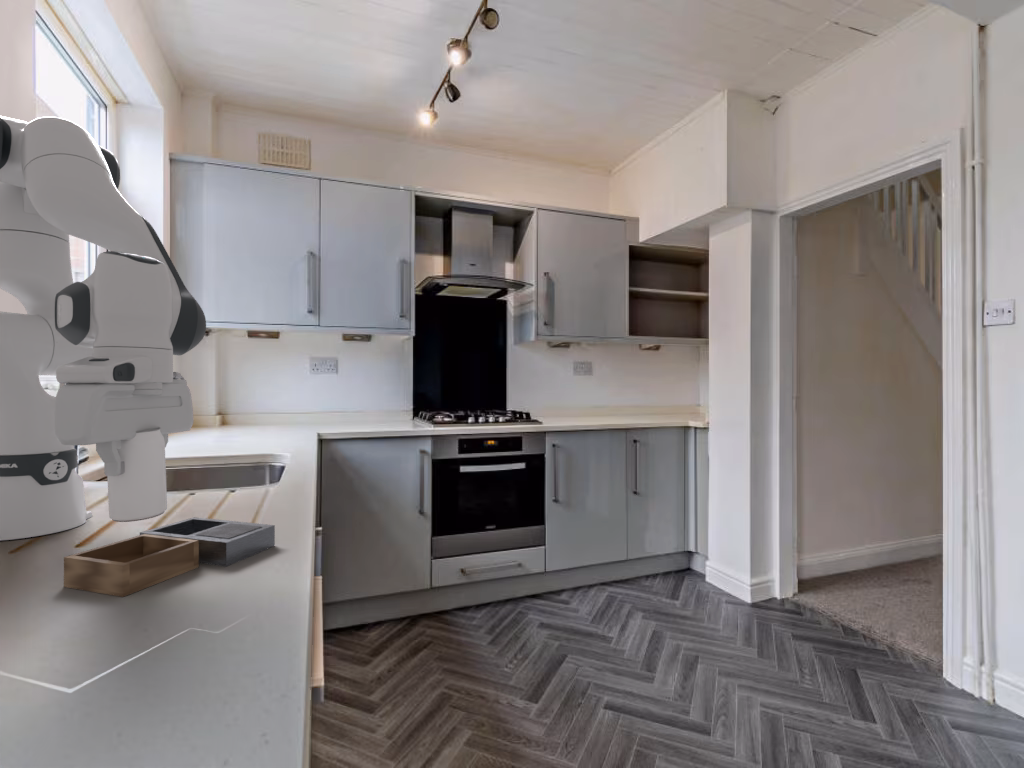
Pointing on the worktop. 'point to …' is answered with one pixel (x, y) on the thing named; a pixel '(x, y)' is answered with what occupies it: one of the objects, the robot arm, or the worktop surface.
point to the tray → (221, 538)
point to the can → (139, 479)
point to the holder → (130, 564)
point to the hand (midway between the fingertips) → (134, 470)
